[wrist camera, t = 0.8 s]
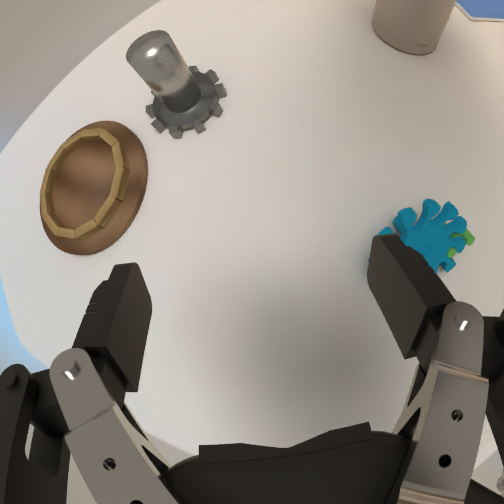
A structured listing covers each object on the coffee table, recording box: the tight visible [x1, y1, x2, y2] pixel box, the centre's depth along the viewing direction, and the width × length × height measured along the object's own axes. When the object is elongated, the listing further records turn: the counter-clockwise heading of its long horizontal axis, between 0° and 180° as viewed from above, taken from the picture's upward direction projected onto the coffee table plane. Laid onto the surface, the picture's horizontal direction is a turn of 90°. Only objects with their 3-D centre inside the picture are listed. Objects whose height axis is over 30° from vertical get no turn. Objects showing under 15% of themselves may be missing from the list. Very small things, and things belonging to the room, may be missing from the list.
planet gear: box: [126, 30, 226, 138], centre depth 27 cm, size 9×9×11 cm
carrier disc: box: [40, 121, 148, 255], centre depth 33 cm, size 17×17×3 cm
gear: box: [368, 199, 475, 274], centre depth 25 cm, size 11×6×10 cm
